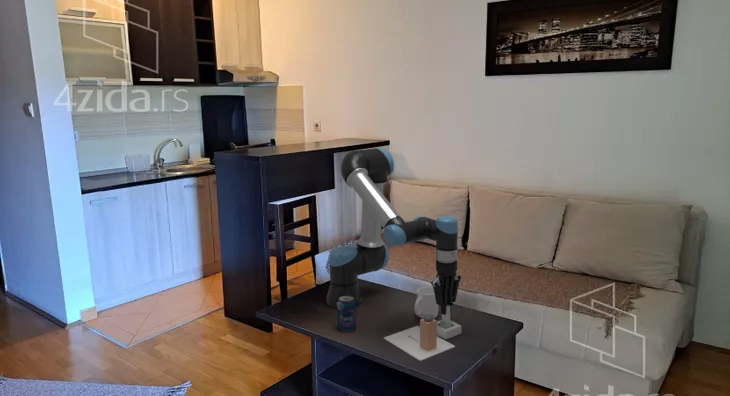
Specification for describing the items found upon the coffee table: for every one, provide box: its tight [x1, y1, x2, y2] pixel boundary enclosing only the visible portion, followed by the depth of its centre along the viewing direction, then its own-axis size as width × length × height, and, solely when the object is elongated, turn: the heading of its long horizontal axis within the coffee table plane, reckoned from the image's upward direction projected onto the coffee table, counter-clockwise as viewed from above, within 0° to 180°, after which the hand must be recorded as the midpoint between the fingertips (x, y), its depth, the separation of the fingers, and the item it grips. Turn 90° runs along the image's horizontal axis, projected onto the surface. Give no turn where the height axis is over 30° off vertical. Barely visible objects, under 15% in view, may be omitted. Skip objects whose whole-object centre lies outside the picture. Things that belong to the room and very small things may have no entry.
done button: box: [439, 320, 452, 329], centre depth 185 cm, size 4×4×3 cm
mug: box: [413, 286, 439, 320], centre depth 198 cm, size 12×8×10 cm
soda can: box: [336, 295, 357, 332], centre depth 189 cm, size 7×7×12 cm
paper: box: [383, 325, 456, 362], centre depth 178 cm, size 20×16×1 cm
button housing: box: [436, 319, 462, 341], centre depth 185 cm, size 8×8×3 cm
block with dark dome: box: [419, 314, 438, 351], centre depth 173 cm, size 4×4×11 cm
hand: (445, 321), depth 184 cm, fingers closed
